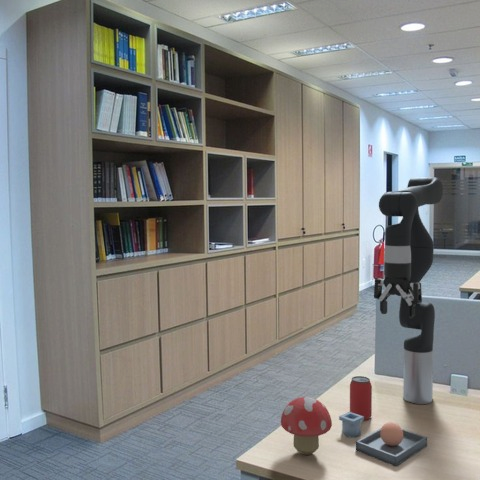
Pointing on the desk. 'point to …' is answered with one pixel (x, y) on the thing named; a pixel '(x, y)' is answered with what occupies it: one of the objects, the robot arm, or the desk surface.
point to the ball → (391, 434)
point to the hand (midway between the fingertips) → (396, 315)
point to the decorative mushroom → (306, 423)
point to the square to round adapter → (351, 424)
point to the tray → (391, 447)
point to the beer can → (361, 396)
